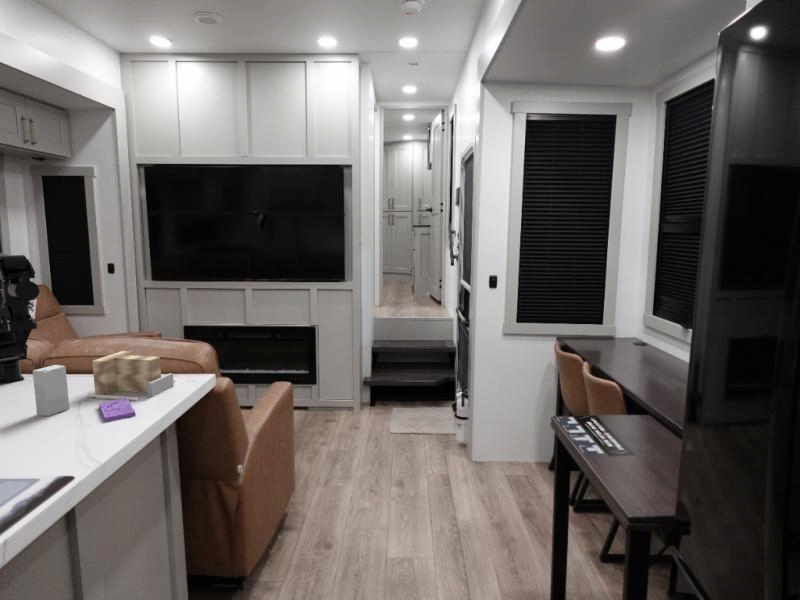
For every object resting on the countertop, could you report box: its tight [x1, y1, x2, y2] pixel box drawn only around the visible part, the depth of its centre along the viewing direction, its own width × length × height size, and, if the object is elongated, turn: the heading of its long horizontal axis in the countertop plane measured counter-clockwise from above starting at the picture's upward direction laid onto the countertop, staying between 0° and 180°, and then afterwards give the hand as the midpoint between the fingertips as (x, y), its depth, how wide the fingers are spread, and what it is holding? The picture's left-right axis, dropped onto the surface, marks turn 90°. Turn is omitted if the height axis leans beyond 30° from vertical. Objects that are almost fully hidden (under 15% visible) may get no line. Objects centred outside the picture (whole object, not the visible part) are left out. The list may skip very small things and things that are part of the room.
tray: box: [86, 372, 176, 402], centre depth 148 cm, size 18×18×4 cm
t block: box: [92, 350, 162, 395], centre depth 147 cm, size 16×12×10 cm
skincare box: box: [32, 364, 70, 417], centre depth 128 cm, size 6×4×12 cm
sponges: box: [98, 398, 137, 423], centre depth 130 cm, size 7×13×2 cm, turn 37°
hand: (21, 349), depth 146 cm, fingers closed
